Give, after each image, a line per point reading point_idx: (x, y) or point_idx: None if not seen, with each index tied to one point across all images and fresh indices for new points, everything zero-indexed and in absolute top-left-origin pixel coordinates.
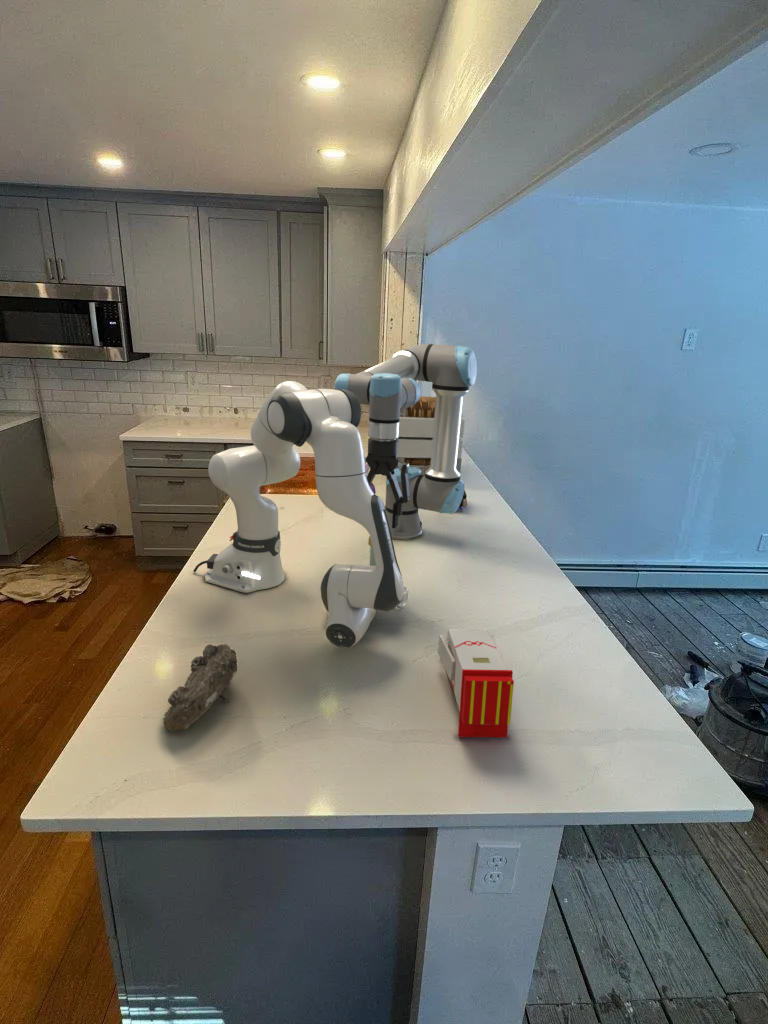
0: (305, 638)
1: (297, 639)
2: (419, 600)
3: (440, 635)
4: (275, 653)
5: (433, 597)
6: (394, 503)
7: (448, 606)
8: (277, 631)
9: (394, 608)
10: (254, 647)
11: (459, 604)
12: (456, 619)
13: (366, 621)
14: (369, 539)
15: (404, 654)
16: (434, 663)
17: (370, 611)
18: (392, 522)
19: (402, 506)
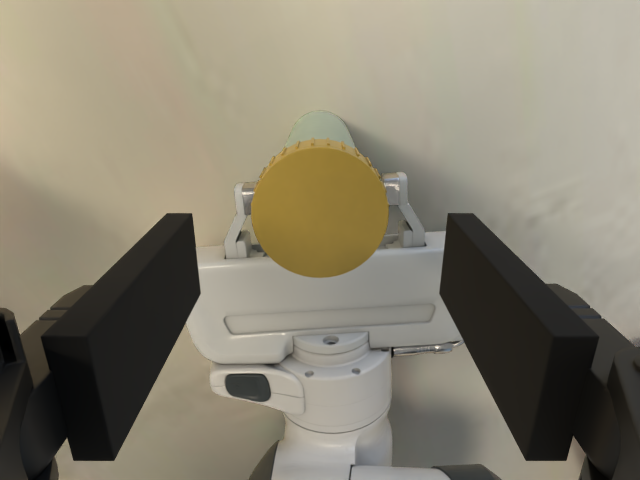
0: (226, 408)
1: (211, 417)
2: (474, 98)
3: None
4: (198, 471)
5: (524, 50)
6: (539, 435)
7: (584, 100)
8: (148, 406)
9: (446, 352)
10: (144, 468)
11: (627, 67)
12: (611, 178)
13: (391, 462)
14: (268, 252)
15: (476, 387)
16: None
17: (386, 418)
18: (453, 317)
19: (622, 342)
